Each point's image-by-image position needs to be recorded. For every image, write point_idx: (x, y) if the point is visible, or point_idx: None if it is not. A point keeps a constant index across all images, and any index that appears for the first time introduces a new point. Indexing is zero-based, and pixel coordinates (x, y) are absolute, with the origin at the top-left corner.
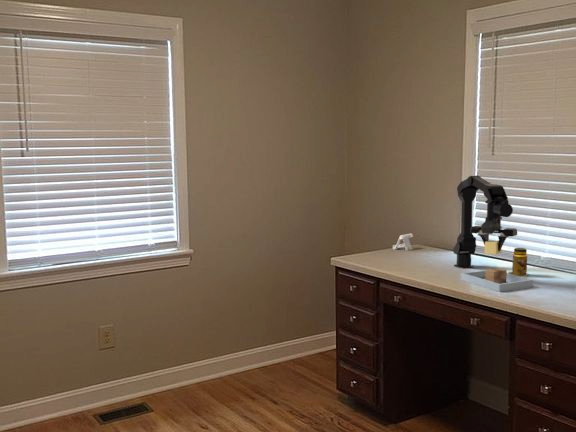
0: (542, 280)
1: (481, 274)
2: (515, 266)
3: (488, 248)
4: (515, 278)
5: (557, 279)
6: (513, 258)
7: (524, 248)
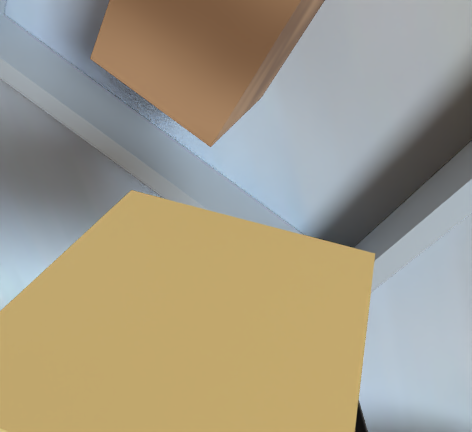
0: (38, 243)
1: (435, 191)
2: None
3: (251, 315)
4: (103, 115)
5: (3, 285)
6: None
7: None
